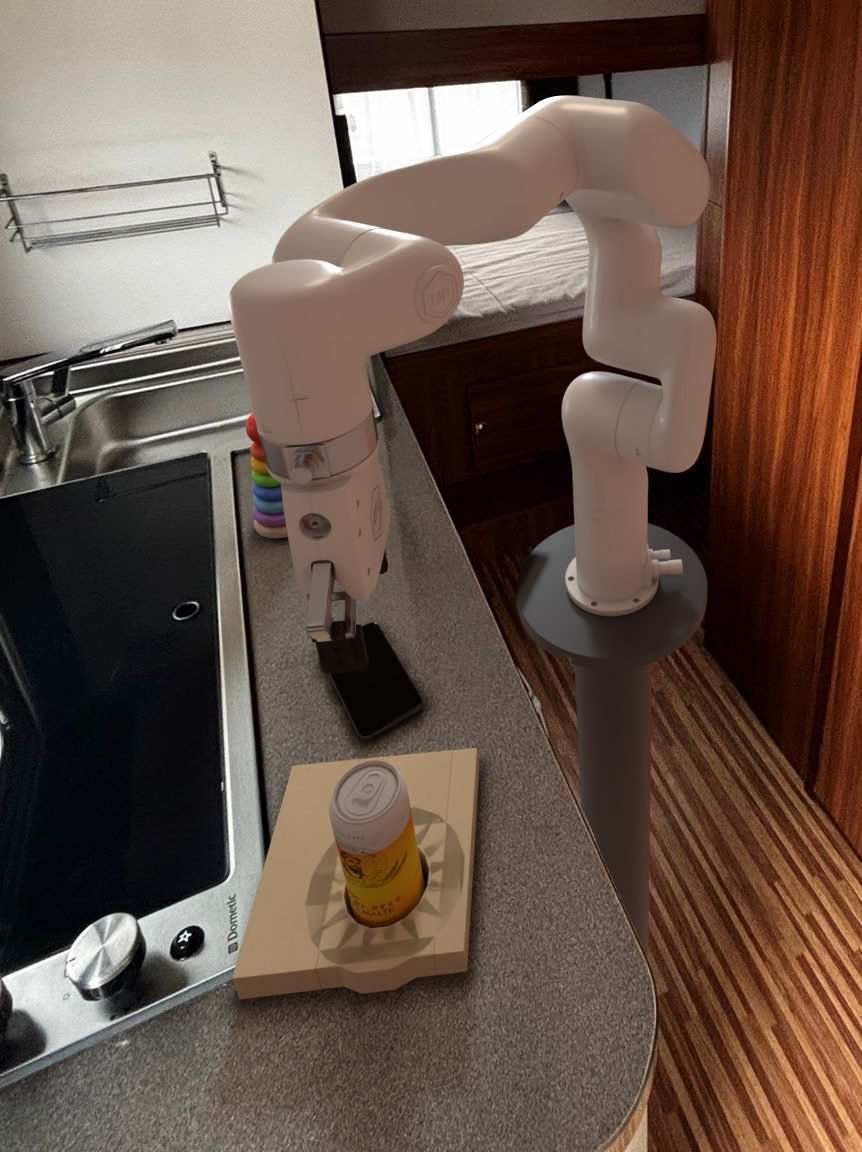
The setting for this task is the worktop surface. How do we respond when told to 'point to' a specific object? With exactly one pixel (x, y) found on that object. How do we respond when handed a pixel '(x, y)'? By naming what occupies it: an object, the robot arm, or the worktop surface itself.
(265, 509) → the stacking toy
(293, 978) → the pad base
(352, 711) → the smartphone
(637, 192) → the robot arm
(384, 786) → the beer can
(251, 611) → the worktop surface
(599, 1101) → the worktop surface
